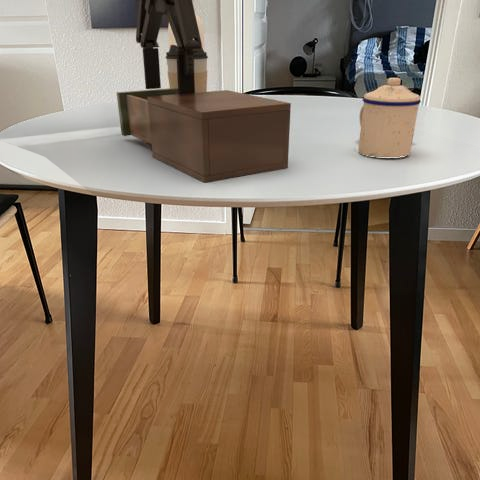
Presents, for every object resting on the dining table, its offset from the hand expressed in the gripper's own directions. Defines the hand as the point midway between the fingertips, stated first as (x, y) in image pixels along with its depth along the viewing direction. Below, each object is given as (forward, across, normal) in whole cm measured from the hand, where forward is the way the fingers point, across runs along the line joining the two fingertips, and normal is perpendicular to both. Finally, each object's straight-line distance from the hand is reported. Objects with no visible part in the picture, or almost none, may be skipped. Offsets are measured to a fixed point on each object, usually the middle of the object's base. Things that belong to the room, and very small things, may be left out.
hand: (169, 93), depth 87 cm
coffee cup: (+9, +20, -14) cm, 26 cm away
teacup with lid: (+8, -25, -27) cm, 38 cm away
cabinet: (+8, -16, 0) cm, 18 cm away
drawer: (+8, 0, 0) cm, 8 cm away
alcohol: (+9, +41, -25) cm, 49 cm away
